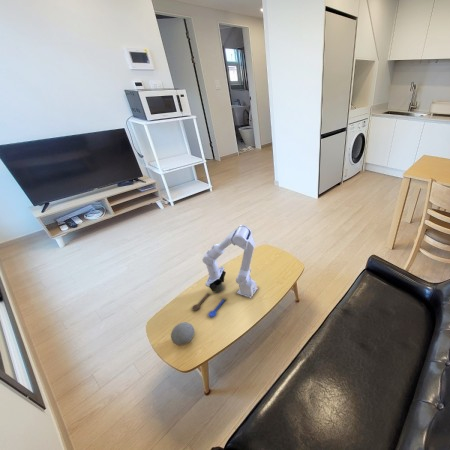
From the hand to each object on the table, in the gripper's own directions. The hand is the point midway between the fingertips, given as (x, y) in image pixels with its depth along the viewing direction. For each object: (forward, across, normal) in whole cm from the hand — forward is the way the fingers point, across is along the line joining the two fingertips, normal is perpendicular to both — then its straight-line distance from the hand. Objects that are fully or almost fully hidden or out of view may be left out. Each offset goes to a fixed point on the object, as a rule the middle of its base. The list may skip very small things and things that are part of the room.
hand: (218, 286), depth 140 cm
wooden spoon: (+2, +12, -3) cm, 13 cm away
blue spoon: (+2, +12, +8) cm, 15 cm away
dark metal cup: (+2, 0, 0) cm, 2 cm away
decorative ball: (+2, +32, +5) cm, 33 cm away
